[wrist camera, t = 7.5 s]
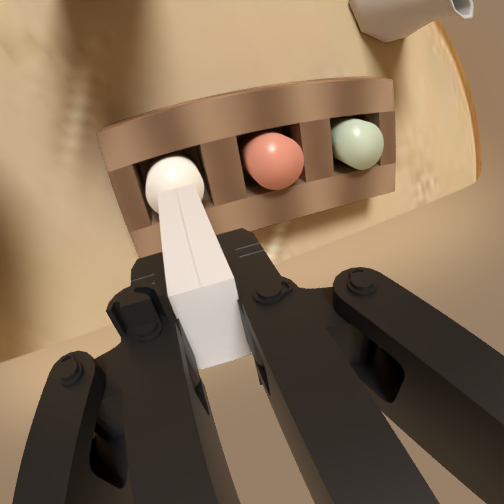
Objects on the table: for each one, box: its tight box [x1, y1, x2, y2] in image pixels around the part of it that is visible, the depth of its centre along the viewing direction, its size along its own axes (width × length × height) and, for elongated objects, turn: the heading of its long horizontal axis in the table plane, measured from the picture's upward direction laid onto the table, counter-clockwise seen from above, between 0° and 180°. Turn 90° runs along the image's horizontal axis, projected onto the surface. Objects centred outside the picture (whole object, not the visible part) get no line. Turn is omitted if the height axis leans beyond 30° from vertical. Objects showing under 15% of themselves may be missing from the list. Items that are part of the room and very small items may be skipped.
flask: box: [349, 0, 474, 43], centre depth 16 cm, size 7×7×10 cm
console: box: [96, 77, 396, 258], centre depth 23 cm, size 22×10×4 cm, turn 100°
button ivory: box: [146, 151, 204, 214], centre depth 21 cm, size 4×4×4 cm
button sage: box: [330, 116, 384, 170], centre depth 23 cm, size 4×4×4 cm
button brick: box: [238, 129, 304, 190], centre depth 22 cm, size 4×4×4 cm
